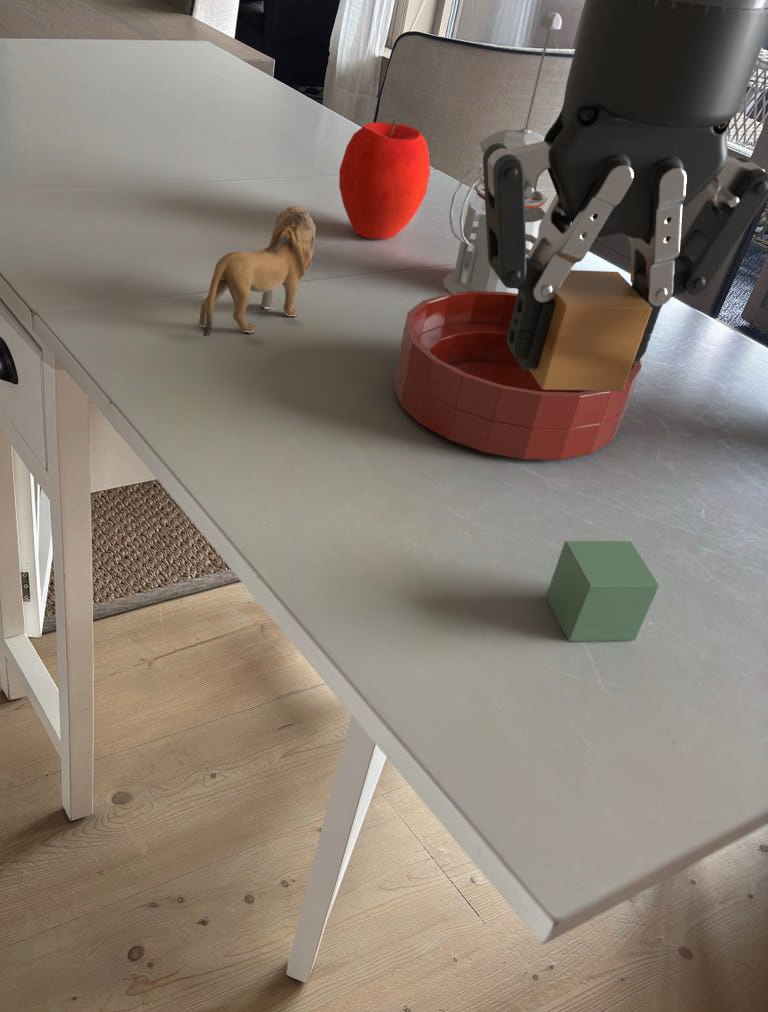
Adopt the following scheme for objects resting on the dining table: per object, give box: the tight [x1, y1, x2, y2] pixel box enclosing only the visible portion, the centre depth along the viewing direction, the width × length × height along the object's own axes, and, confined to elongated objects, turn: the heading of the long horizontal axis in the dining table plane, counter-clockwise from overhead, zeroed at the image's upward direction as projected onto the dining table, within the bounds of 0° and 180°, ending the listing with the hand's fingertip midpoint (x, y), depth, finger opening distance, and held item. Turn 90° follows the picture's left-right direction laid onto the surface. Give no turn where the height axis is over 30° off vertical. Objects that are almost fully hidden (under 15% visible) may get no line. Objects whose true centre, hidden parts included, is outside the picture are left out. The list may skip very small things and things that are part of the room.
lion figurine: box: [198, 206, 316, 337], centre depth 89 cm, size 15×5×9 cm, turn 145°
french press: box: [442, 11, 563, 294], centre depth 94 cm, size 10×12×25 cm
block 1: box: [530, 269, 652, 391], centre depth 50 cm, size 4×4×4 cm
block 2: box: [545, 540, 660, 642], centre depth 61 cm, size 4×4×4 cm
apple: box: [338, 120, 431, 240], centre depth 107 cm, size 10×10×12 cm
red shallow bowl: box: [393, 291, 642, 461], centre depth 81 cm, size 19×19×6 cm
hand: (571, 362), depth 52 cm, fingers closed on block 1, 4 cm apart
